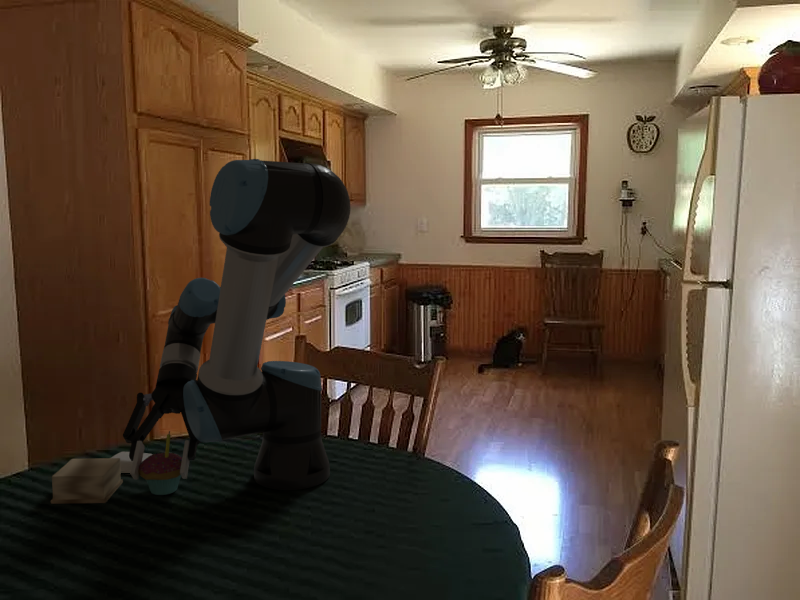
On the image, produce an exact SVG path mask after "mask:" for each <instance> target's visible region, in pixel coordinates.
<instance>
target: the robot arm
mask: <svg viewBox="0 0 800 600" xmlns="http://www.w3.org/2000/svg"><path fill="white" fill-rule="evenodd" d="M209 206H210V210H209V216H210V217H209V218H210V221H211V223H212V224H211V225H212V227H213V228H214V230H215V231H216V232H217V233H219V235H218V237H219V241H221V243H223V245H225V247H226V250H225V251H226V252H225V258H224V262H223V263H224V264H223V271H222V277H221V283H220V285H219V284H218V283H217V282H215V280H211V279H208V278H206V277H197V278H194V279H192V280H190V281H189V282H188V283H187V284H186V286H185V287H184V288H183V290H182V292H181V294H180V296H179V299H178V302H177V305H175V306H173V308H172V309H171V313H170V316H169V318H168V322H167V324H168V325H167V331H166V335H165V336H166V337H165V341H164V345H163V350H162V355H161V358H160V359H161V360H160V363H159V370H158V373H157V379H156V383H155V388H154V389H153V391H152V392H151V393H145V394H144V393H143V392H138V393H137V394H136V404H135V405H134V409H133V411H132V413H131V415H130V417H129V419H128V422H127V424H126V427H125V429H124V432H123V433H122V437H123V439H124V441H125V442H126V443H127V444H130V445H131V446H130V449H129V452H130V453H129V458H130V459H131V461H133V463H132V468H131V472H130V474H129V475H131V477H132V479H133V481H134V480H139V477H140V475H139V466H140V465H141V463H142V458H143V453H145V447H146V446H145V445H144V443H143V442H144V441H145V440H146V438H147V437H148V436H149V434H150V433H151V431H152V430H153V429H154V427H155V426H156V424H157V422H158V421H159V420H160V419H161V418H162V417H163V416H164V415H166V414H167V415H168V414H169V415H170V414H176V415H177V414H178V415H181V416H182V420H183V423H184V425H185V429H186V431H187V433H188V437H189V440H187V439H186V440H185V441H184V445H183V450H182V456H181V457H182V463H181V469H180V474H181V478H182V479H183V480H185V479H186V480H187V479H188V474H189V473H188V472H189V468H190V467H189V465H190V461H195V459H196V457H197V456H196V455H197V449H198V446H199V444H202V443H203V444H205V443H210V442H211V443H213V442H223V441H226V440H230V439H235V438H241V437H246V436H251V435H257V434H262V441H261V444H260V447H259V451H258V454H257V457H256V460H255V463H254V467H253V478H254V479H253V480H254V481H255V483H256V484H258V485H260V486H261V487H264V488H268V489H271V490H278V491H279V490H280V491H296V490H297V491H298V490H304V489H309V488H313V487H316V486H318V485H321V484H323V483H324V482H326V481H327V480H328V479H329V478H330V472H331V469H330V468H331V467H330V461H329V457H328V454H327V453H326V452H327V451H326V448H325V445H324V443H323V440H322V392H323V388H322V379H321V378H322V377H321V373H320V371H319V369H318V368H317V367H315V366H313V365H311V364H307V363H303V362H296V361H288V360H271V361H264V362H262V365H261V367H260V368H259V367H258V365H259V360H260V359H259V358H260V355H261V351H262V350H261V349H262V345H263V344H262V343H263V339H264V334H265V328H266V324H267V321H268V320H270V319H277V318H278V319H279V318H280V317H282V315H283V314H284V312H285V308H286V305H287V304H286V302H287V300H286V299H287V298H286V293H287V292H289V290H290V288H291V287H292V286H293V285H294V284H295V282H296V281H297V280H298V279H299V277H300V276H301V275H302V274H303V272H304V271H305V270H306V269H307V268H308V266H309V265H310V264H311V263H312V262H313V260H315V258H316V257H317V255H318V254H319V253H320V252H321V251H322V249H324V248H325V247H329V246H331V245H333V244H334V243H335V242H336V241H337V240H338V239H339V238H340V236H341V235H342V234H343V232H344V231H345V229H346V227H347V225H348V222H349V220H350V215H351V199H350V195H349V192H348V189H347V188H346V185H345V183H344V181H343V180H342V179H341V178H340V177H339V176H338V175H337V174H336V173H335V172H334V171H332V170H331V169H329V168H328V167H325V166H323V165H321V164H317V163H310V162H304V163H302V162H290V161H289V162H288V161H274V160H262V159H261V160H260V159H259V158H252V159H233V160H231V161H229V162H227V163H225V164H224V165H223V166H222V167H221V168H220V170H219V171H218V172H217V174H216V176H215V177H214V181H213V184H212V187H211V191H210V197H209ZM211 324H214V328H213V334H212V340H211V346H210V353H209V359H208V360H205V362H203V363H202V364H201V366H199V365H200V364H199V363H200V360H201V353H202V352H201V350H202V346H203V342H204V338H205V335H206V333H207V331H208V329H209V327H210V326H211ZM197 373H198V374H197ZM151 401H153V402H154V404H153V405H152V407H151V410H150V412H149V413H148V415H147V416H146V417H145V418H144V420H143V421H142V419H143V417H144V414H145V412H146V409H147V407H149V404H150V402H151ZM141 421H142V423H141Z"/></svg>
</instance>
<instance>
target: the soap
mask: <svg viewBox="0 0 800 600" xmlns="http://www.w3.org/2000/svg"><path fill="white" fill-rule="evenodd" d="M129 453H130V451H120V452H118V453H116V454H114V455H113V456H112V457H110V458H120V473H130V472H131V468H132V463H133V461H131V459H130V458H129ZM153 454H154V453H153ZM153 454H152V453H146V452H144V453H143V458H142V461H144V460H145V459H146V458H148V456H151V455H153Z"/></svg>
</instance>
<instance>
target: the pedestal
mask: <svg viewBox="0 0 800 600" xmlns="http://www.w3.org/2000/svg"><path fill="white" fill-rule="evenodd" d="M121 476H122V475H121V473H120V458H111V457H109V458H108V457H106V458H103V457H102V458H100V457H99V458H71V459H69V461H68V462H67V463H65V464H64V465H63V466H62V467H61V468H59V470H57V472H55V473H54V474H52V476H51V481H52V482H51V483H52V499H51V500H50V504H52V505H53V504H56V505H57V504H58V505H59V504H106V503H107V502H108V500H110V498H111V497H112V496H113V494H115V493H116V491H117V490H118V489H119V488H120V486H121V485H122V484H123V483H124V479H123V478H122V479H121Z"/></svg>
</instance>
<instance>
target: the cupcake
mask: <svg viewBox="0 0 800 600" xmlns="http://www.w3.org/2000/svg"><path fill="white" fill-rule="evenodd" d="M170 444H171V430H168V433H167V434H166V441H165V451H164V452H159V453H153V455H151V456H148V458H146V459H145V460H144V461H142V463H141V465H140V466H139V477H141V478H143V479H144V480H145V481H146V483H147V486H148V488H149V491H150V493H151V494H152V495H156V496H164V495H165V496H166V495H170V494H172V493H174V492H176V491H178V487H179V484H180V481H181V478H182V476H181V474H180V469H181V463H182V457H183V456H181V455H180V454H176V453H174V452H170V447H171V446H170Z"/></svg>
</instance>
